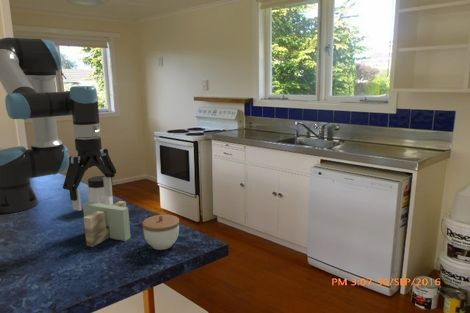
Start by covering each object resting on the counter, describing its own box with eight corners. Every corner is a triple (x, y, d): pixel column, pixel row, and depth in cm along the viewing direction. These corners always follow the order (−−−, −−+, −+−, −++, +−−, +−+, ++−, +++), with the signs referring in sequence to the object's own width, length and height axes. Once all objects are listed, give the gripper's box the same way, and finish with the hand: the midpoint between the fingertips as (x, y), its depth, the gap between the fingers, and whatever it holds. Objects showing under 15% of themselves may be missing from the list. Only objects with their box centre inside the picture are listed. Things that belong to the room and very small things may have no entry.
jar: (92, 213, 136) (89, 182, 134) (87, 207, 143) (84, 178, 141) (116, 208, 141) (113, 178, 139) (110, 203, 148) (108, 174, 145)
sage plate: (85, 233, 119) (82, 204, 117) (91, 230, 121) (88, 201, 119) (125, 240, 113) (122, 210, 111) (130, 237, 115) (128, 207, 113)
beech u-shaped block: (93, 246, 109) (90, 218, 107) (86, 245, 110) (83, 217, 108) (127, 226, 123) (125, 201, 121) (121, 225, 124) (119, 200, 122)
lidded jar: (163, 256, 102) (161, 225, 100) (136, 248, 108) (134, 218, 106) (187, 242, 111) (186, 213, 109) (161, 234, 117) (159, 207, 115)
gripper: (64, 145, 99) (71, 218, 104) (124, 131, 122) (128, 192, 126) (44, 143, 102) (52, 214, 107) (106, 130, 124) (111, 189, 129)
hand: (93, 202), depth 117 cm, fingers open, 13 cm apart
